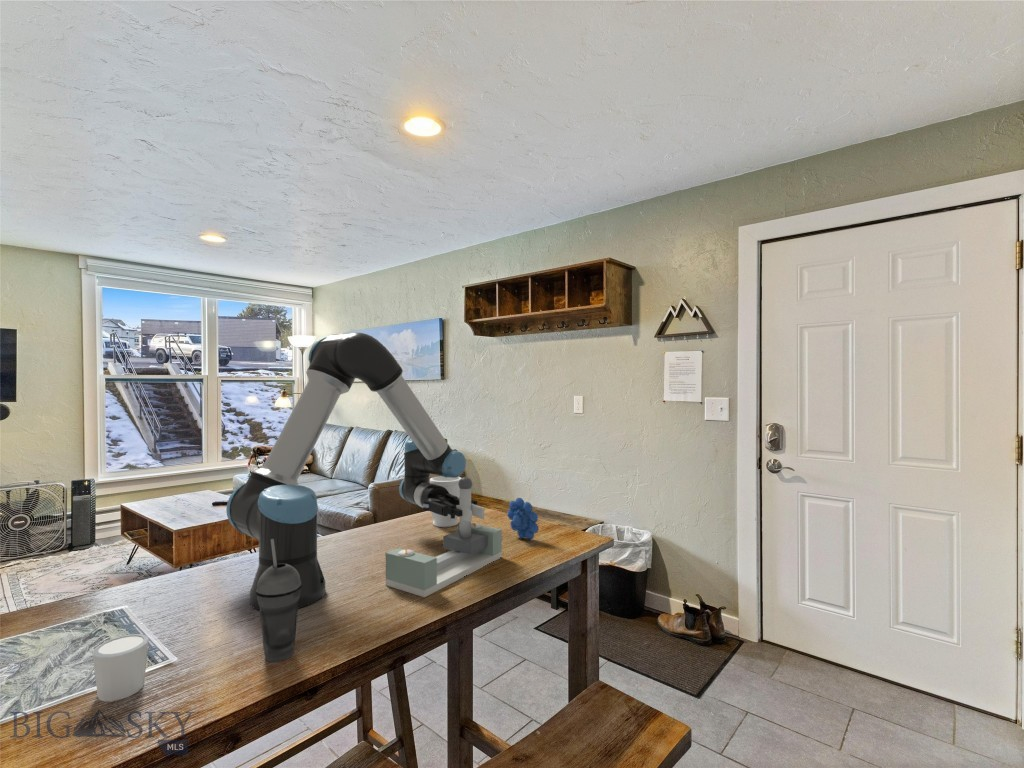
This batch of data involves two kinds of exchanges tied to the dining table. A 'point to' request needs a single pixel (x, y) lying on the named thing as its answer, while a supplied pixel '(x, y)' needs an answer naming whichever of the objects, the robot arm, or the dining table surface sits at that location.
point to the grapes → (523, 518)
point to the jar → (453, 489)
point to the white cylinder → (120, 666)
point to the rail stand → (439, 564)
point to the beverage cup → (278, 608)
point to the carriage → (465, 526)
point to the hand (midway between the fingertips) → (476, 514)
